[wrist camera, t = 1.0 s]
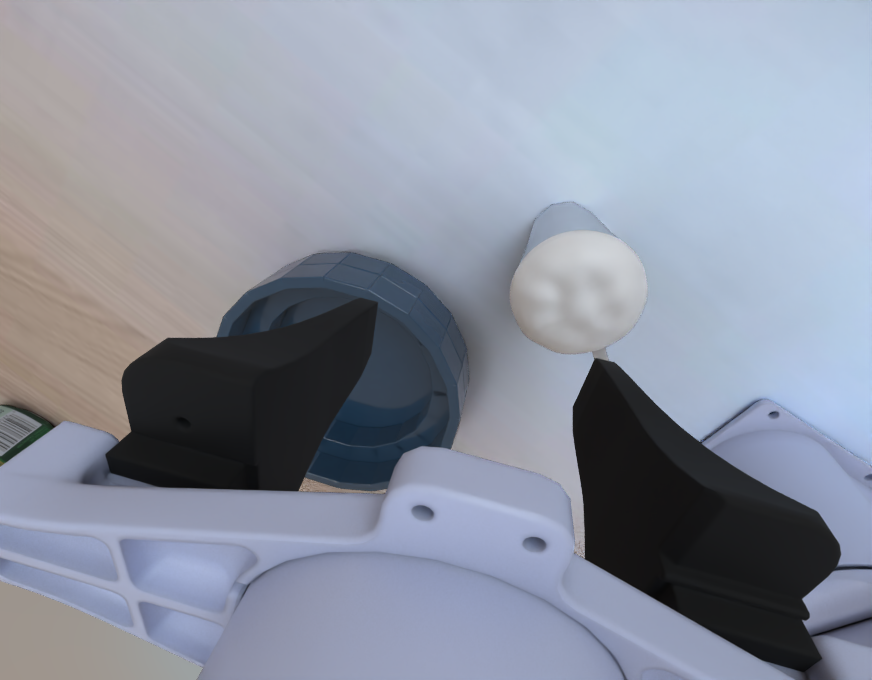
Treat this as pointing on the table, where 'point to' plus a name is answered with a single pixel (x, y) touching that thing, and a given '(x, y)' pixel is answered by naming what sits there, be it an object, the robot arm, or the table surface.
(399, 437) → the bowl
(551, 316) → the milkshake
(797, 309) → the table surface
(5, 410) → the coffee jar
